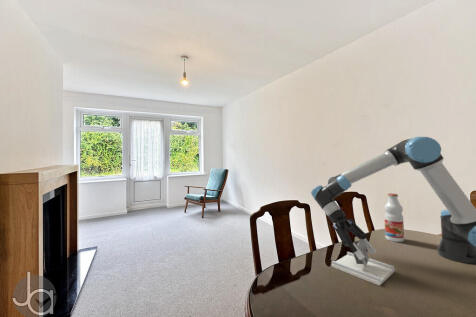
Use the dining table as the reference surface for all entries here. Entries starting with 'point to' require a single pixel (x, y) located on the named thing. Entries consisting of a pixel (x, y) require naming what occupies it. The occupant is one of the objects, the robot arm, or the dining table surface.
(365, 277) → the white tray
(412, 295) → the dining table surface
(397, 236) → the fruit juice
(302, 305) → the dining table surface
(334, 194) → the robot arm
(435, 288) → the dining table surface
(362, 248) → the electrical switch
